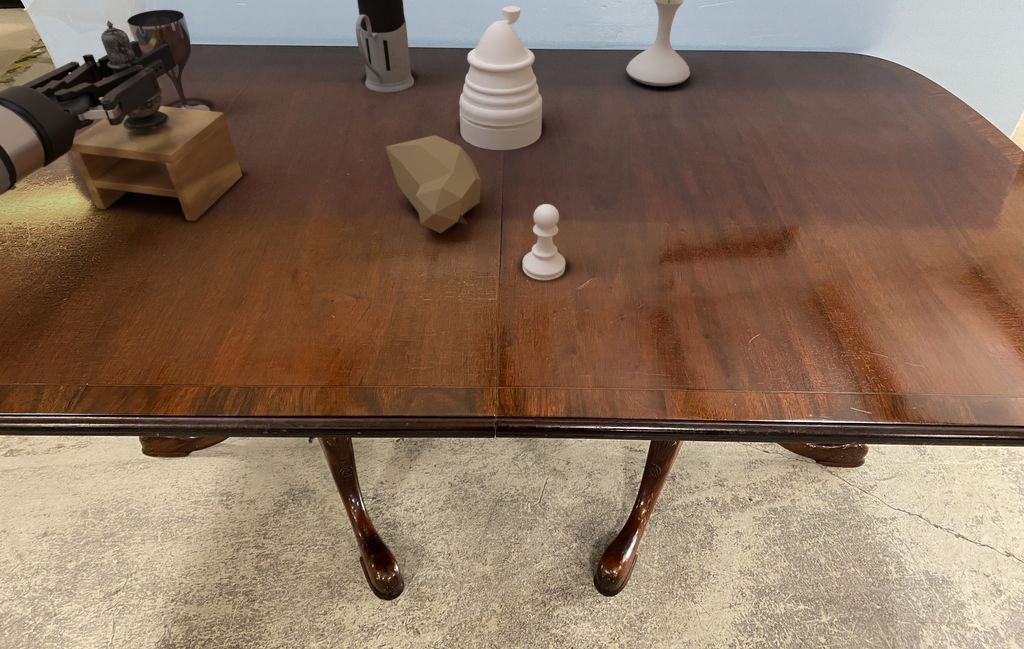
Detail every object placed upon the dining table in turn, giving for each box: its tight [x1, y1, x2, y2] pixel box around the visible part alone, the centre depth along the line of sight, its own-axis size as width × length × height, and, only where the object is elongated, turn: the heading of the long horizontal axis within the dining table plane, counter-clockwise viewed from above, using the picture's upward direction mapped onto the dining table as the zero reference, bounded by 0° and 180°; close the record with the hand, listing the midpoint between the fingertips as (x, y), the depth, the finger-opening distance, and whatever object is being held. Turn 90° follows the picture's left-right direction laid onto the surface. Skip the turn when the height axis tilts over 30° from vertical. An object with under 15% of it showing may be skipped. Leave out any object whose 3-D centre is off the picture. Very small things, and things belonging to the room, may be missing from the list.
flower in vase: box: [625, 0, 691, 87], centre depth 113 cm, size 13×11×25 cm
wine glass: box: [126, 9, 211, 111], centre depth 105 cm, size 8×8×15 cm
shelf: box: [69, 105, 243, 222], centre depth 87 cm, size 14×12×10 cm
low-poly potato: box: [385, 134, 482, 234], centre depth 84 cm, size 15×11×12 cm
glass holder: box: [355, 0, 415, 93], centre depth 113 cm, size 9×14×15 cm, turn 166°
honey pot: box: [458, 5, 543, 151], centre depth 100 cm, size 13×13×18 cm
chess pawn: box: [521, 203, 567, 281], centre depth 75 cm, size 5×5×9 cm
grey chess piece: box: [100, 20, 169, 131], centre depth 80 cm, size 6×6×12 cm
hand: (154, 53), depth 83 cm, fingers closed on grey chess piece, 4 cm apart
